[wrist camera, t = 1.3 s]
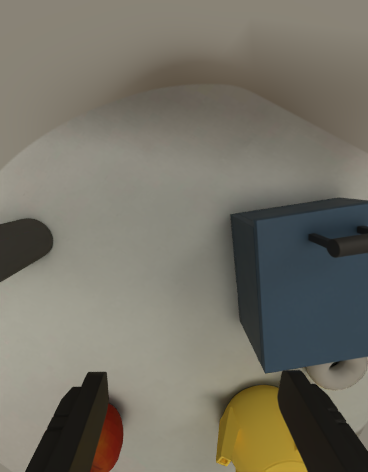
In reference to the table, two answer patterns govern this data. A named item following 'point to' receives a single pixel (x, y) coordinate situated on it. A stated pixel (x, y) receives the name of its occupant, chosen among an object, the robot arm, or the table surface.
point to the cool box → (247, 260)
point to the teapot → (257, 434)
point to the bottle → (22, 245)
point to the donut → (338, 373)
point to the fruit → (109, 442)
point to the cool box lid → (312, 286)
